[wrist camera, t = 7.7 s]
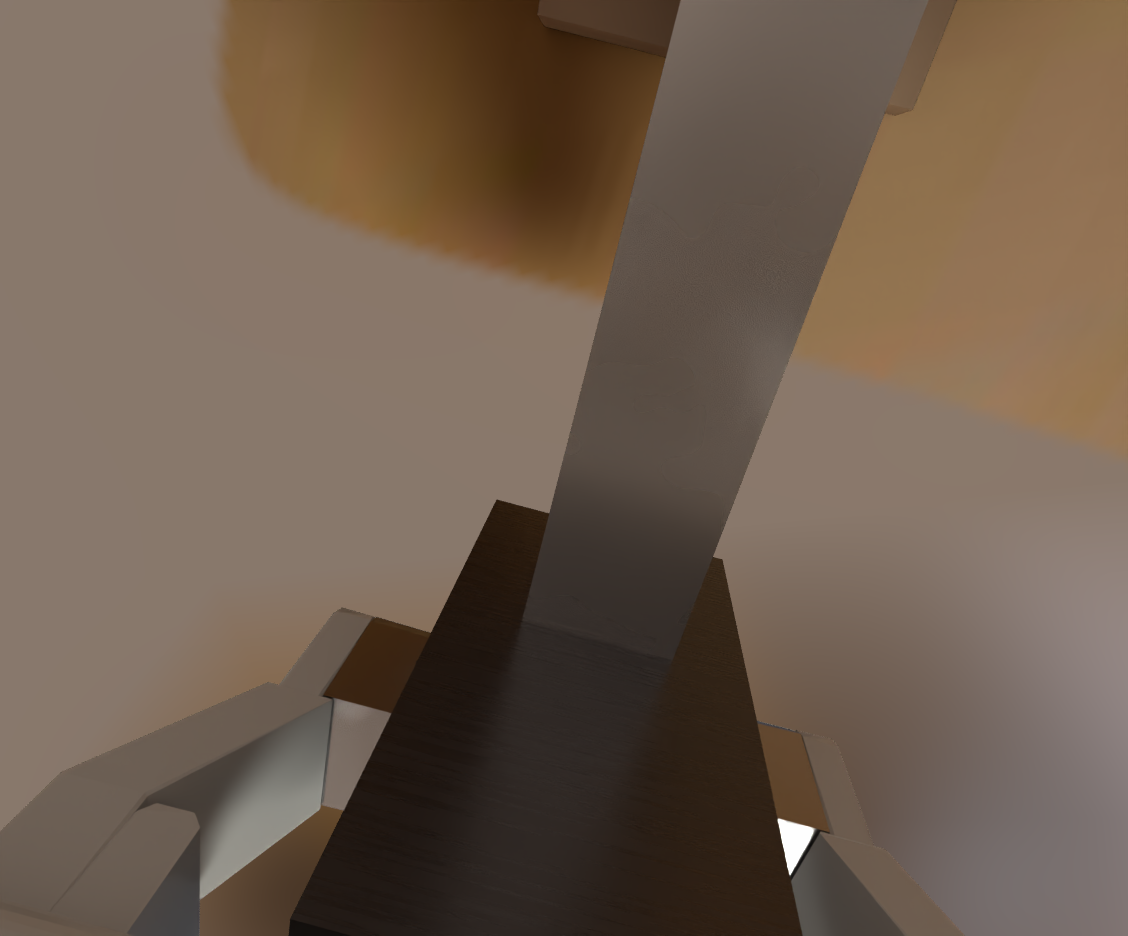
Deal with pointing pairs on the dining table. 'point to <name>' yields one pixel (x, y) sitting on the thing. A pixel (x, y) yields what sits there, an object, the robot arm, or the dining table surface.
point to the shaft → (633, 543)
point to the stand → (648, 13)
